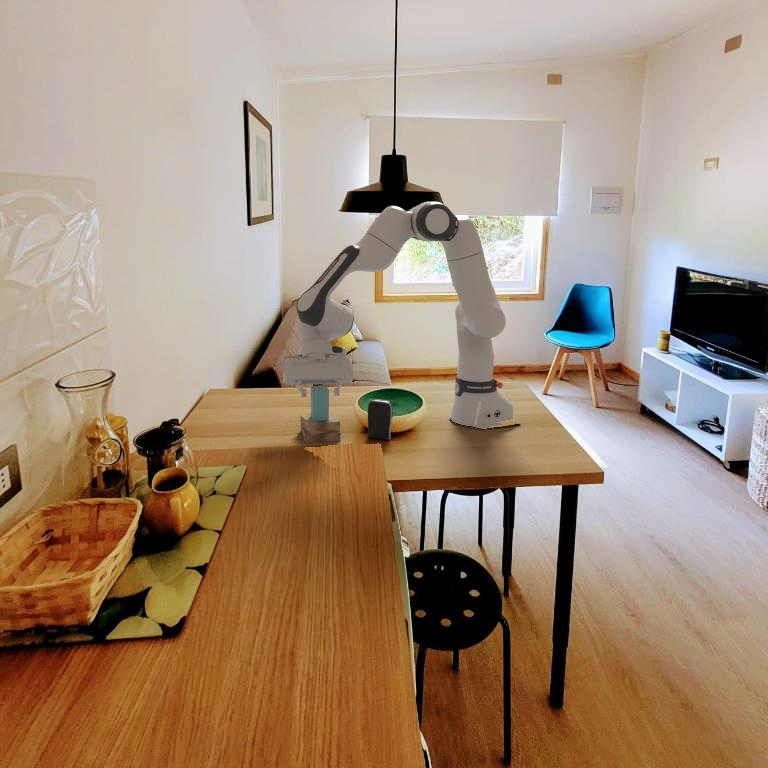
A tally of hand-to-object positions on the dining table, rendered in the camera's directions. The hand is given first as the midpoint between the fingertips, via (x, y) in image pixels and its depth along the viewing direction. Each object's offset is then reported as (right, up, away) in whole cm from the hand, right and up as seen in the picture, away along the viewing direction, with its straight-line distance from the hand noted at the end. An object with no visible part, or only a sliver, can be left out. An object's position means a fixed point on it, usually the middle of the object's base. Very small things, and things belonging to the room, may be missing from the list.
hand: (320, 395), depth 172 cm
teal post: (-1, -6, +2) cm, 7 cm away
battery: (+17, -13, +4) cm, 21 cm away
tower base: (-1, -12, +4) cm, 13 cm away
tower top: (0, -9, +3) cm, 10 cm away
